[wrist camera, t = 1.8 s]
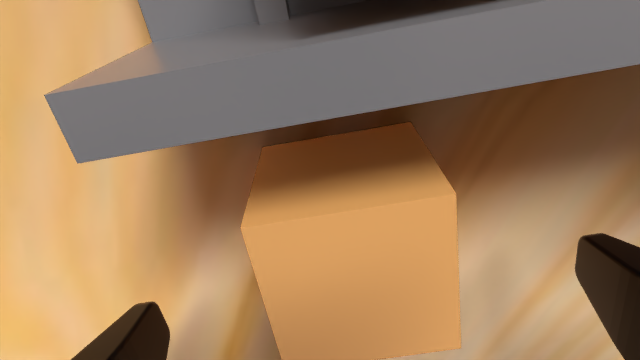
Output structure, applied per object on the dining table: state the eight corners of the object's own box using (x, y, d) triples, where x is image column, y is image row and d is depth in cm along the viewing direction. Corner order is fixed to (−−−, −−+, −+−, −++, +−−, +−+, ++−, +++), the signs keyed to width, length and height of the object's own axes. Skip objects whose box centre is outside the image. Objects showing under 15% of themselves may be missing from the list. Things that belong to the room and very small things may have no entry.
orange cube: (420, 243, 13) (461, 348, 9) (292, 262, 13) (285, 372, 10) (409, 120, 11) (455, 193, 8) (262, 146, 11) (239, 228, 8)
